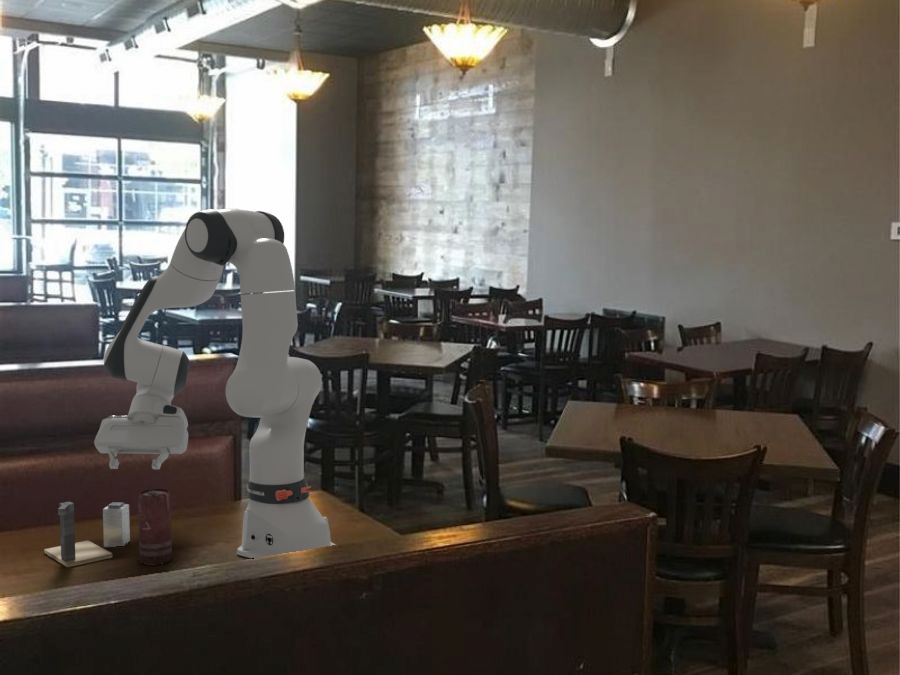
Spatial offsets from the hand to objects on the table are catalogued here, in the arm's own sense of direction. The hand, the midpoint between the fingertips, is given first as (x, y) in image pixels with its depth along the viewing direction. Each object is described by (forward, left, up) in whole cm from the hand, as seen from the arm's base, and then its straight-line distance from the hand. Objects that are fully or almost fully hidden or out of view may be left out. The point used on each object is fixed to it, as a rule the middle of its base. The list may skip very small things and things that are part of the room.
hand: (134, 467), depth 210 cm
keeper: (-10, +18, -14) cm, 25 cm away
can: (-24, +7, -14) cm, 28 cm away
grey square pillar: (-8, +8, -14) cm, 18 cm away
